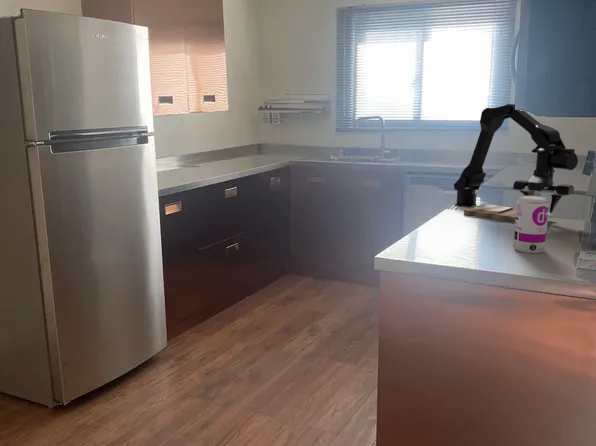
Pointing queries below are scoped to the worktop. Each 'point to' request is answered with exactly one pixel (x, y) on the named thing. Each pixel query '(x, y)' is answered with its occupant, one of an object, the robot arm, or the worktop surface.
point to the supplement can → (531, 224)
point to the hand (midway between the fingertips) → (540, 212)
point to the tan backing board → (492, 212)
